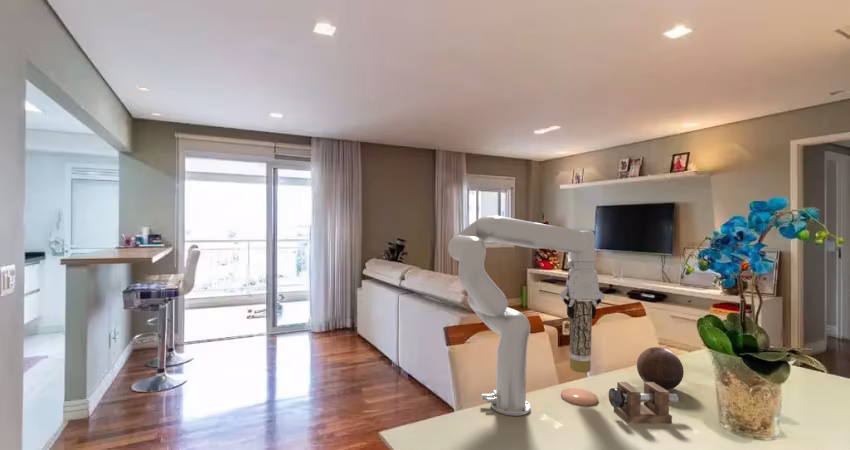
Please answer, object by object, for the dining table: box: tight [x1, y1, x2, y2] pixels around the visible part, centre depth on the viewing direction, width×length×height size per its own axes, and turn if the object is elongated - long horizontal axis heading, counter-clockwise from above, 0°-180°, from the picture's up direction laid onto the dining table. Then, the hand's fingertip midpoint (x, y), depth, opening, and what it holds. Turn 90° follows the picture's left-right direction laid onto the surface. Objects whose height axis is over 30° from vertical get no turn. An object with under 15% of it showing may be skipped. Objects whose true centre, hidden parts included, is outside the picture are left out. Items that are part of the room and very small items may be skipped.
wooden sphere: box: [636, 346, 684, 391], centre depth 152 cm, size 15×15×15 cm
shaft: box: [608, 387, 680, 409], centre depth 129 cm, size 20×6×6 cm, turn 94°
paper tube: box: [569, 299, 593, 374], centre depth 142 cm, size 7×7×25 cm
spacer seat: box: [560, 387, 599, 407], centre depth 142 cm, size 12×12×1 cm
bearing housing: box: [613, 381, 673, 424], centre depth 129 cm, size 14×8×9 cm, turn 94°
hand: (581, 317), depth 142 cm, fingers closed on paper tube, 6 cm apart
